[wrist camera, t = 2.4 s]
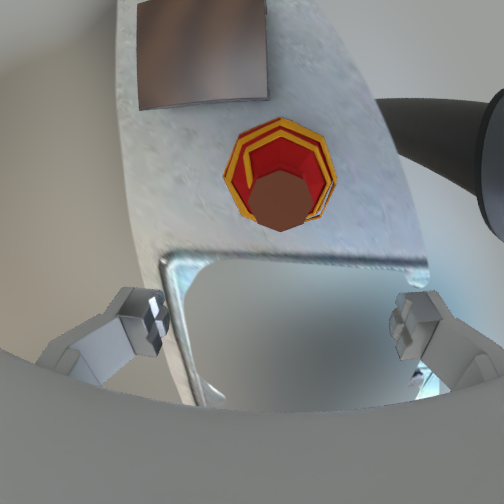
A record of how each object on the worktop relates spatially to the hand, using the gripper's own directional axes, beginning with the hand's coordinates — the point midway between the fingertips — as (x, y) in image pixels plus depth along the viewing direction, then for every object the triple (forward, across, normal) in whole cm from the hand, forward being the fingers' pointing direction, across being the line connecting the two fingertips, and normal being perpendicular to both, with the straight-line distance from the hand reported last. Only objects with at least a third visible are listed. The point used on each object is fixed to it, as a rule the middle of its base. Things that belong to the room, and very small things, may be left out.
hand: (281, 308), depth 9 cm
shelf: (+25, +7, -13) cm, 29 cm away
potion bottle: (+25, 0, 0) cm, 25 cm away
